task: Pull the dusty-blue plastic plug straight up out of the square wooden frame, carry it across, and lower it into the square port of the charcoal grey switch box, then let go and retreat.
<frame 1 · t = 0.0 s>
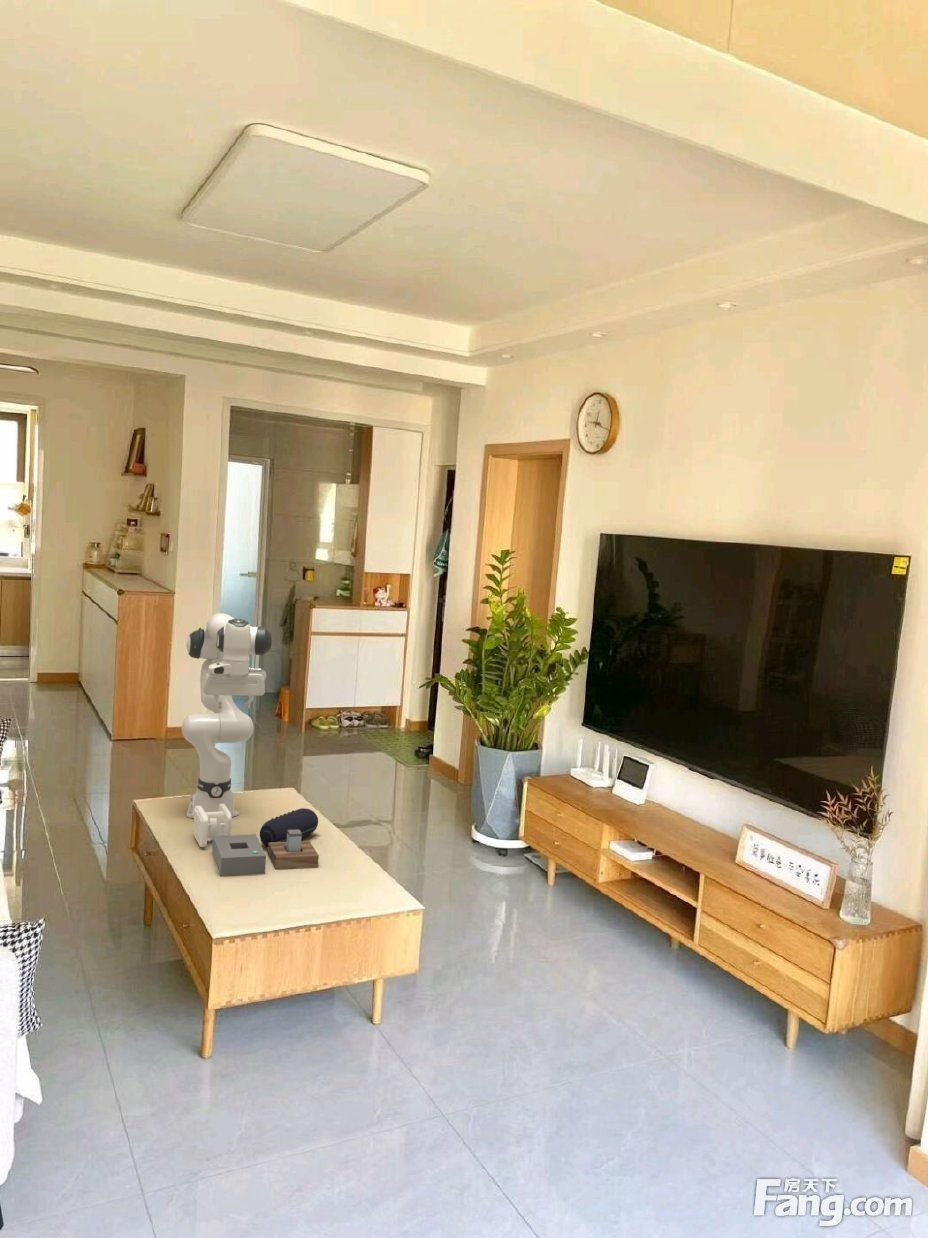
hand: (233, 708, 325), 48 cm above the table, fingers open, 8 cm apart
cable organizer: (210, 842, 332), on the table
portable speaker: (287, 842, 339), on the table
port box: (237, 863, 315), on the table
square wooden frame: (292, 860, 322), on the table
plug: (293, 846, 321), in the square wooden frame
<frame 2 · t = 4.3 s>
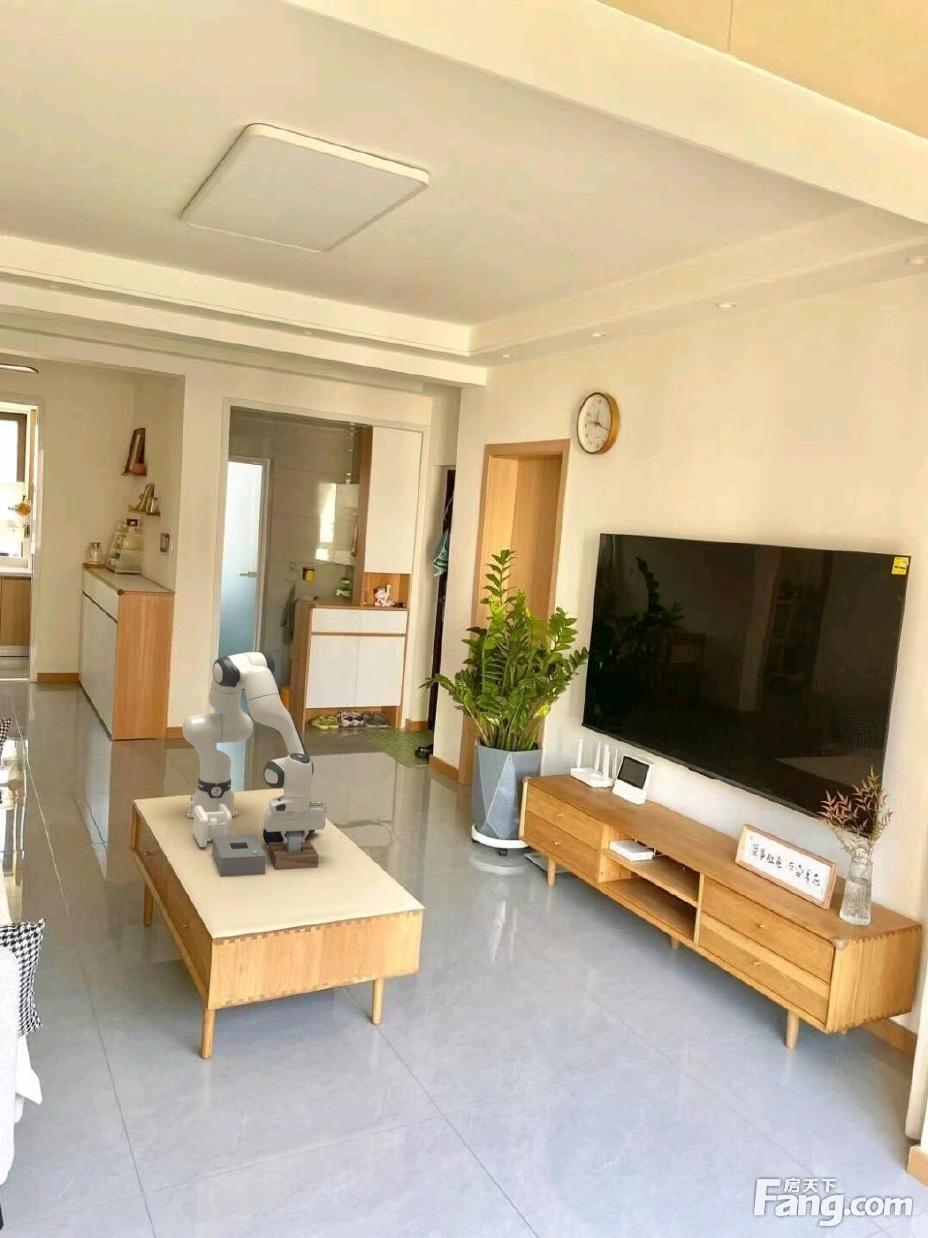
hand: (293, 842, 321), 6 cm above the table, fingers closed on plug, 4 cm apart
plug: (293, 846, 321), in the square wooden frame, touching gripper
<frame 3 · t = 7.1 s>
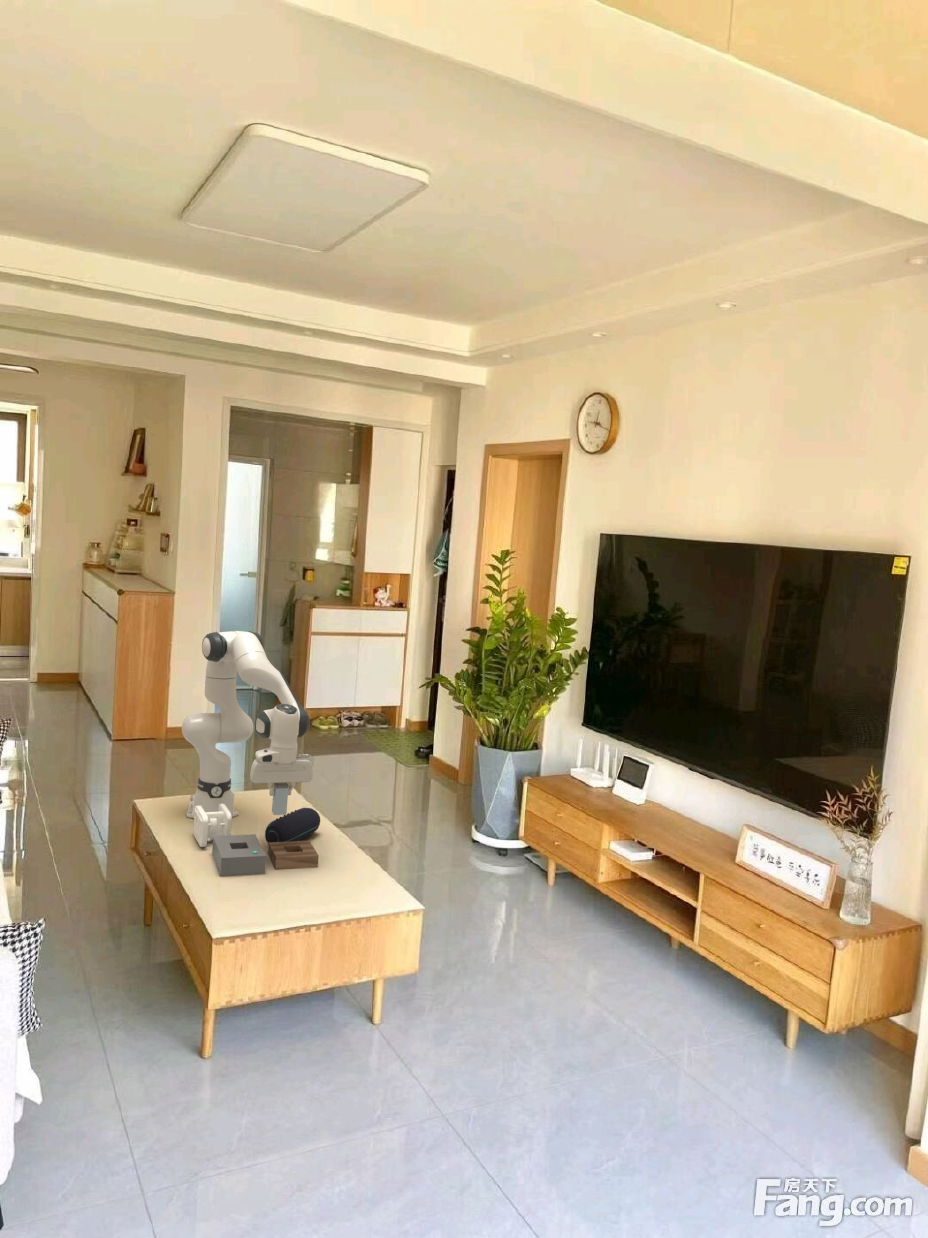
hand: (280, 795, 317), 23 cm above the table, fingers closed on plug, 4 cm apart
plug: (280, 798, 318), point 22 cm above the table, touching gripper
when the fingers open (7 cm above the table, at t = 10.4 s): plug stays where it is, resting in port box.
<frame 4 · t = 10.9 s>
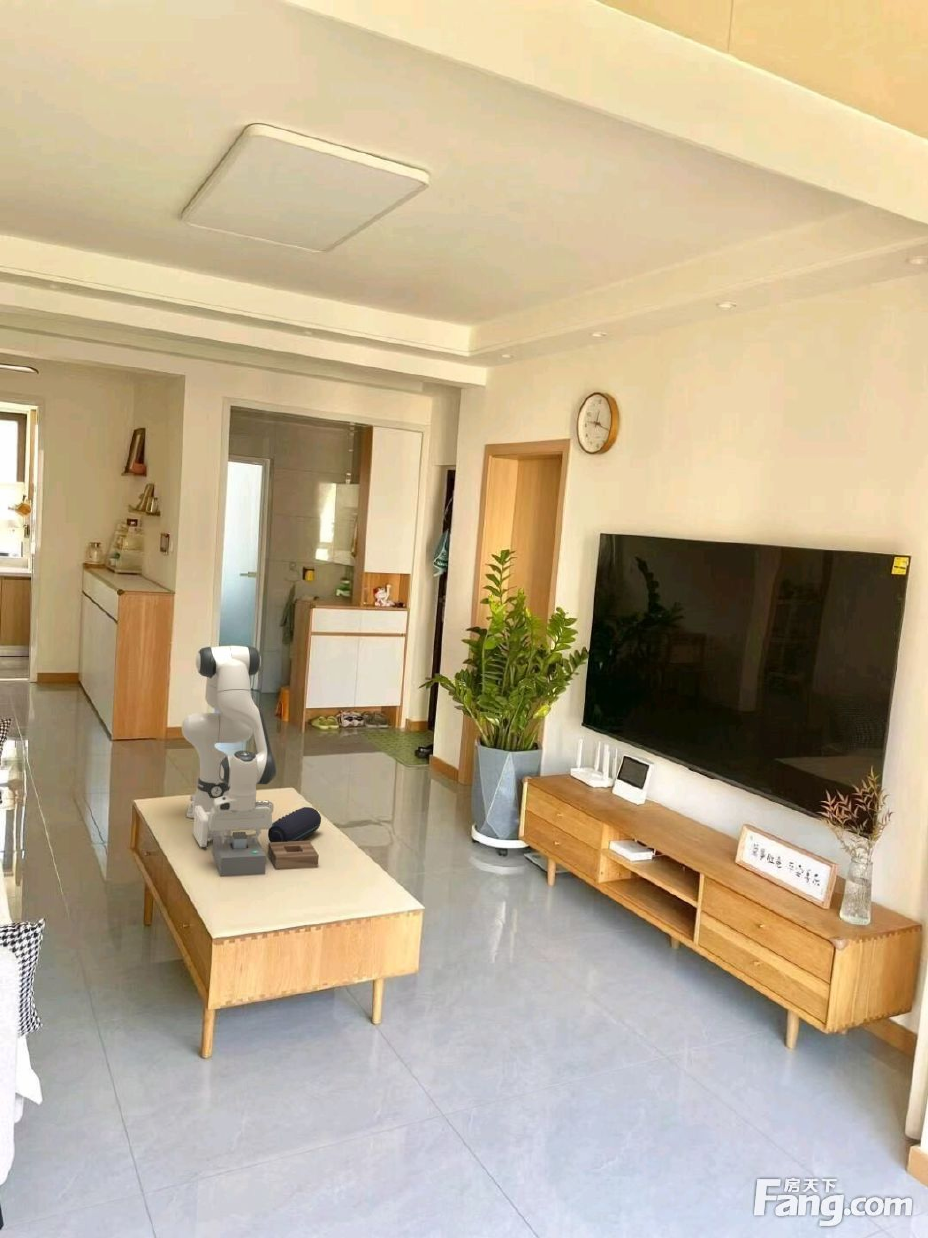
hand: (239, 842, 314), 7 cm above the table, fingers open, 8 cm apart
plug: (238, 848, 314), in the port box
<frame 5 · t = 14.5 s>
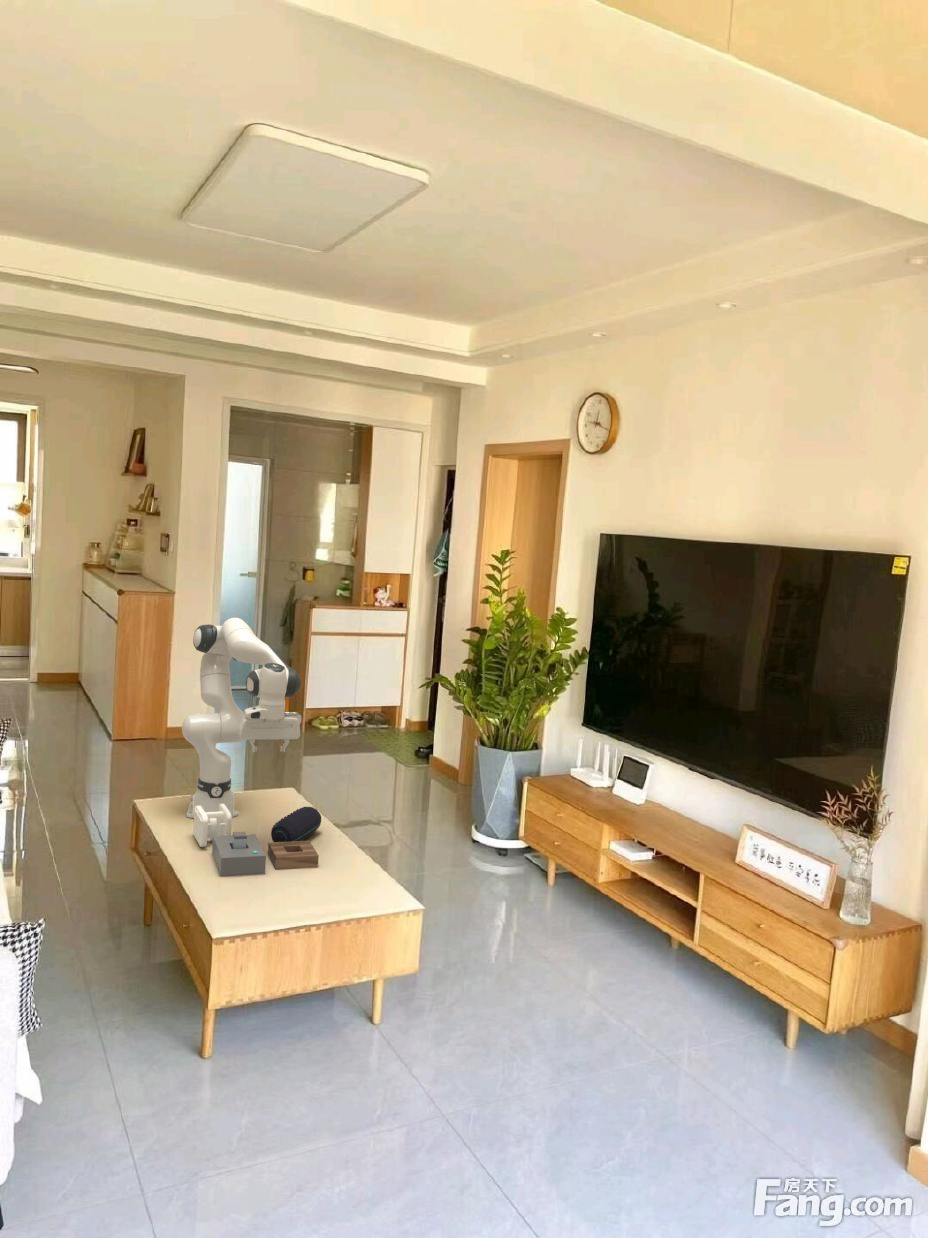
hand: (268, 751, 326), 34 cm above the table, fingers open, 8 cm apart
at the end: plug 0.0 cm off-centre on the port box, point 5.0 cm above the port box's base; plug tilted 0°; the gripper is holding nothing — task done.
